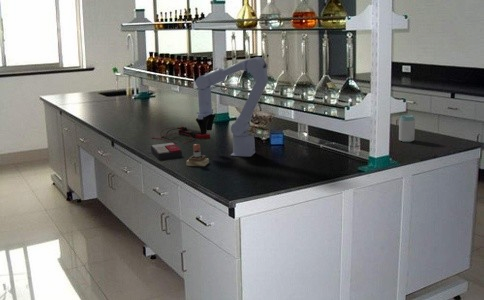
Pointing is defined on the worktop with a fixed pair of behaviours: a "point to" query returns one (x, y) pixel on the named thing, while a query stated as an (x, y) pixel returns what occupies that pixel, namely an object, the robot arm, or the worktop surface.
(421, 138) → the worktop surface
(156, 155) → the calculator
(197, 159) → the tan rectangular frame
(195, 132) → the digital clamp meter
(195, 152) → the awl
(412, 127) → the can
